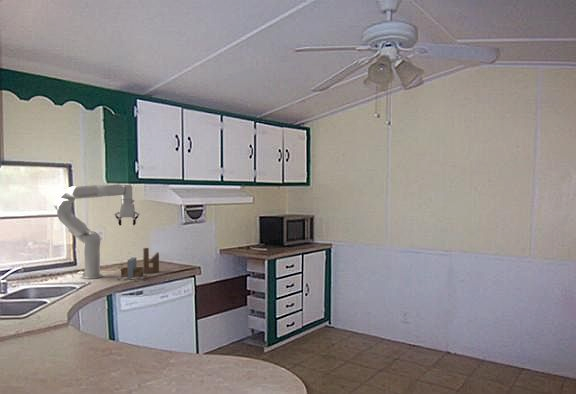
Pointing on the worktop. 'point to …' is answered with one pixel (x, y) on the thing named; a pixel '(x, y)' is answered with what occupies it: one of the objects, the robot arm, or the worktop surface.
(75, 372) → the worktop surface
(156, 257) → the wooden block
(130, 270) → the slotted plate
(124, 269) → the slotted base
